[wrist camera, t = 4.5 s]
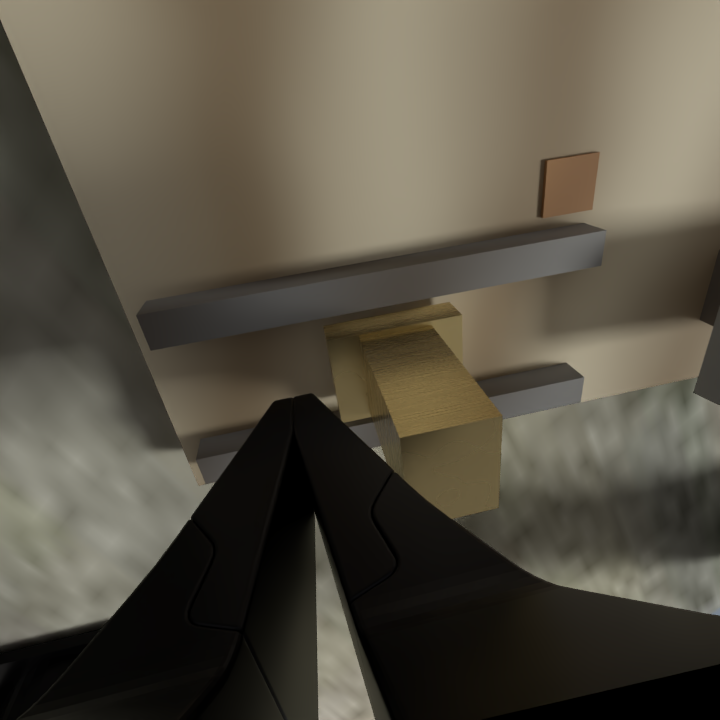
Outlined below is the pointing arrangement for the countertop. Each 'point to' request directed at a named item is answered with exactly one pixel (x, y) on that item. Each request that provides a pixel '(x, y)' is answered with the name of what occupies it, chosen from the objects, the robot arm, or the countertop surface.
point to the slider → (421, 403)
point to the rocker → (711, 367)
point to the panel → (390, 187)
